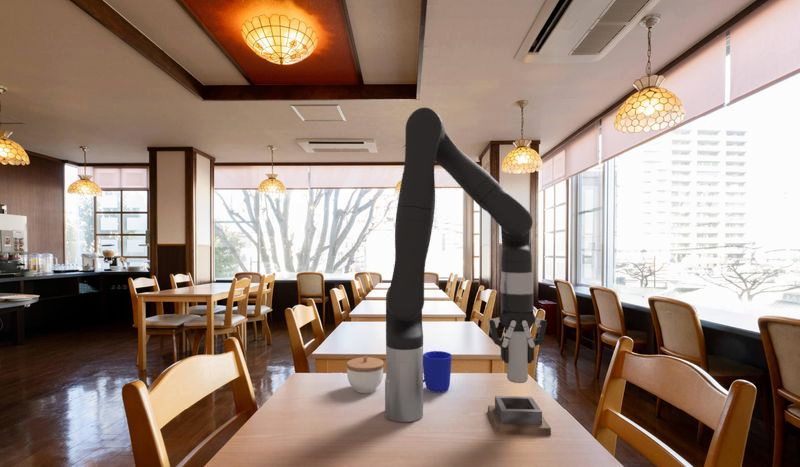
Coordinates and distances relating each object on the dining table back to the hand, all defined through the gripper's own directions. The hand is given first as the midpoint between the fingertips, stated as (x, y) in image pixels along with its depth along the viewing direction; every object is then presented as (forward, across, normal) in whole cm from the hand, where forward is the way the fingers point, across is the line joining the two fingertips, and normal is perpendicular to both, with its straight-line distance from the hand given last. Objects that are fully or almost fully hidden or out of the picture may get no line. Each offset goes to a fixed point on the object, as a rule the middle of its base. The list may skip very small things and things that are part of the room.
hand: (517, 361), depth 100 cm
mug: (+14, -20, +21) cm, 32 cm away
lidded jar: (+14, -39, +20) cm, 46 cm away
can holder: (+14, 0, 0) cm, 14 cm away
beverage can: (+5, 0, 0) cm, 5 cm away
